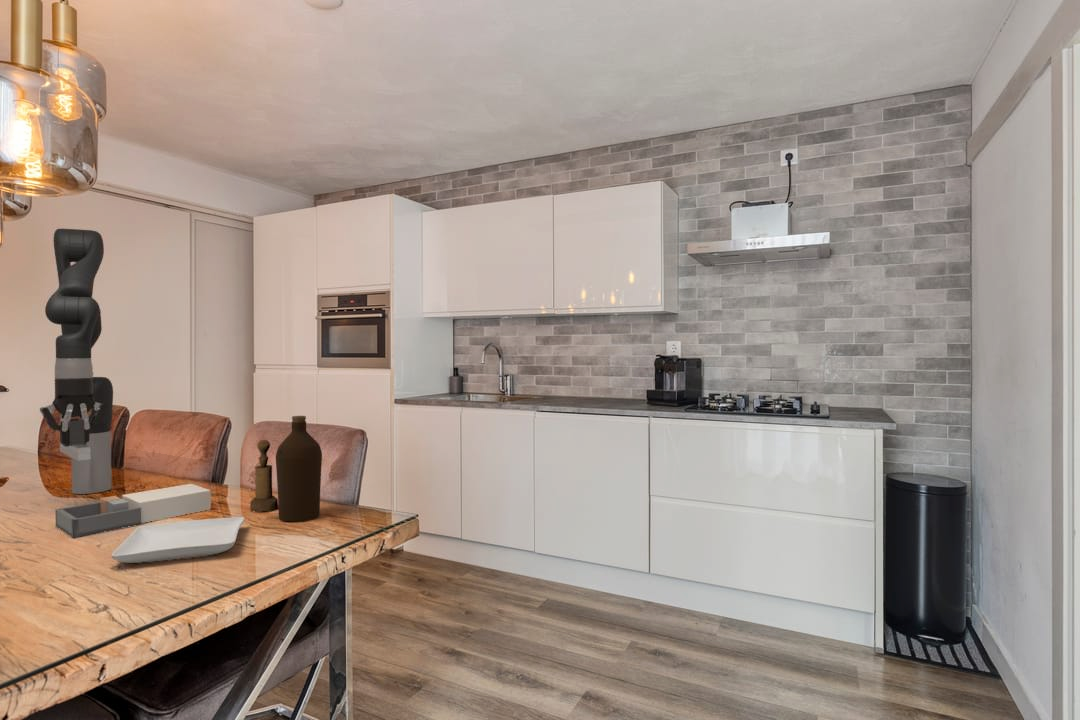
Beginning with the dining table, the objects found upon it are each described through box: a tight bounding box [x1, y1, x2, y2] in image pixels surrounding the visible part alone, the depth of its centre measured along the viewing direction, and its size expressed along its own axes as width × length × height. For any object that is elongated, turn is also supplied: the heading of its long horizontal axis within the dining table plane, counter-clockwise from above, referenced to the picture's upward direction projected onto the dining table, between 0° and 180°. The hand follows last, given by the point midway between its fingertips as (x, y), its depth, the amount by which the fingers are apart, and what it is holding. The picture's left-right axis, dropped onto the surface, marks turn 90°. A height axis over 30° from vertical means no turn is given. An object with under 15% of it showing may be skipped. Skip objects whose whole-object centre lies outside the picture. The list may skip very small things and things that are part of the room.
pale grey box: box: [107, 498, 129, 513], centre depth 141 cm, size 4×4×3 cm
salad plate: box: [110, 516, 245, 564], centre depth 125 cm, size 21×21×3 cm
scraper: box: [59, 418, 90, 461], centre depth 149 cm, size 16×3×9 cm, turn 51°
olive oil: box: [275, 415, 323, 522], centre depth 147 cm, size 11×11×25 cm
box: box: [55, 497, 142, 539], centre depth 140 cm, size 14×13×4 cm
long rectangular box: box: [121, 483, 212, 524], centre depth 151 cm, size 12×16×5 cm
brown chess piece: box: [249, 439, 278, 513], centre depth 154 cm, size 7×6×18 cm
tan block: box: [99, 495, 120, 514], centre depth 144 cm, size 4×4×3 cm
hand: (74, 444), depth 149 cm, fingers closed on scraper, 3 cm apart
